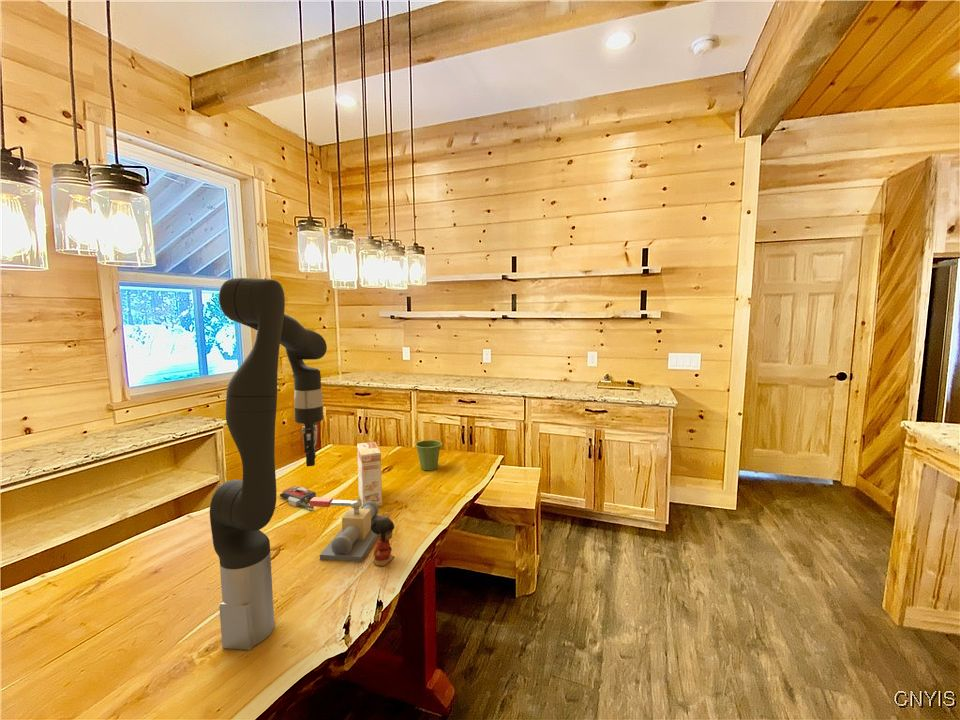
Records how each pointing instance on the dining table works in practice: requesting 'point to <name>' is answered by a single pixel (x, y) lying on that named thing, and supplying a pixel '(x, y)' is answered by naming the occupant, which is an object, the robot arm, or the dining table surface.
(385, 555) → the figurine
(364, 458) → the coffeecake box
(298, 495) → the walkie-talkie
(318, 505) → the lever
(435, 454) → the plant pot
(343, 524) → the valve stand
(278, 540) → the dining table surface
